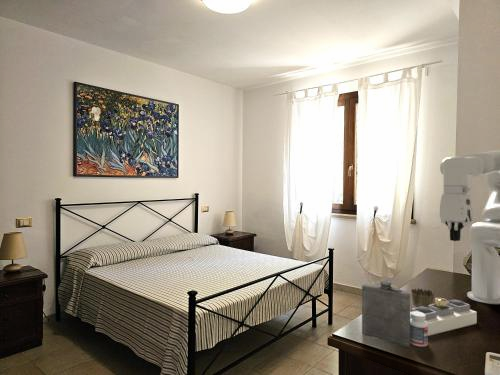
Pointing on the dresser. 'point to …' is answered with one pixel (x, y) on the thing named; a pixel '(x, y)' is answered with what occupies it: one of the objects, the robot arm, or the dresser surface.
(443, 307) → the brass knob
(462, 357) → the dresser surface
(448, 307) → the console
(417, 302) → the olive hollow bell-shaped piece
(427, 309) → the button
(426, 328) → the pill bottle
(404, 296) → the flask
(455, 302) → the button
